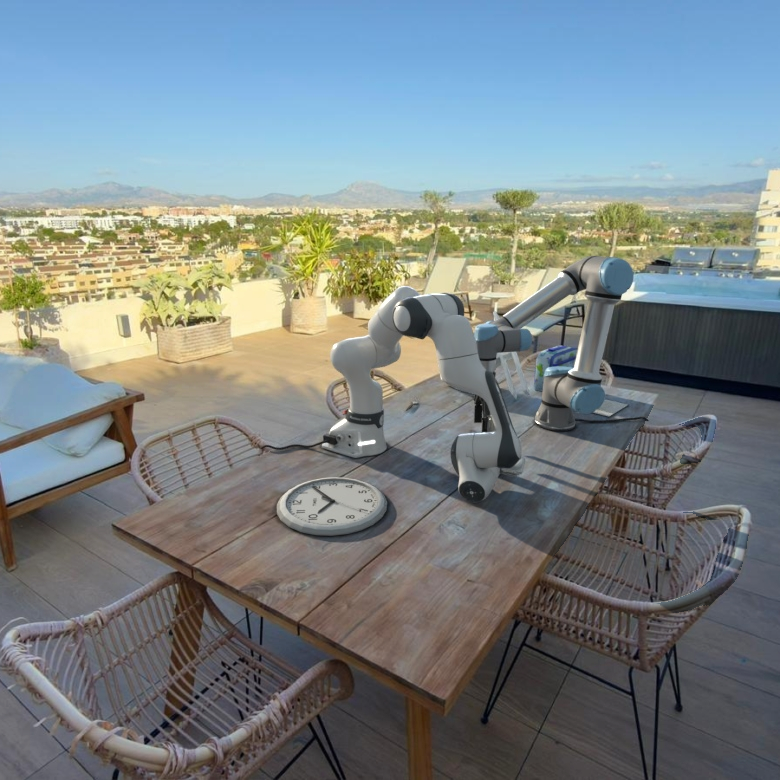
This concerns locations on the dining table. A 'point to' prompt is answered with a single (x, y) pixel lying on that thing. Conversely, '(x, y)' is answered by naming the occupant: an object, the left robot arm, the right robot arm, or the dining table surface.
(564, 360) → the lunch box
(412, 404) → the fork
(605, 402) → the invitation card
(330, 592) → the dining table surface
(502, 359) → the white plastic object
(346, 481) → the wall clock
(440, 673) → the dining table surface
